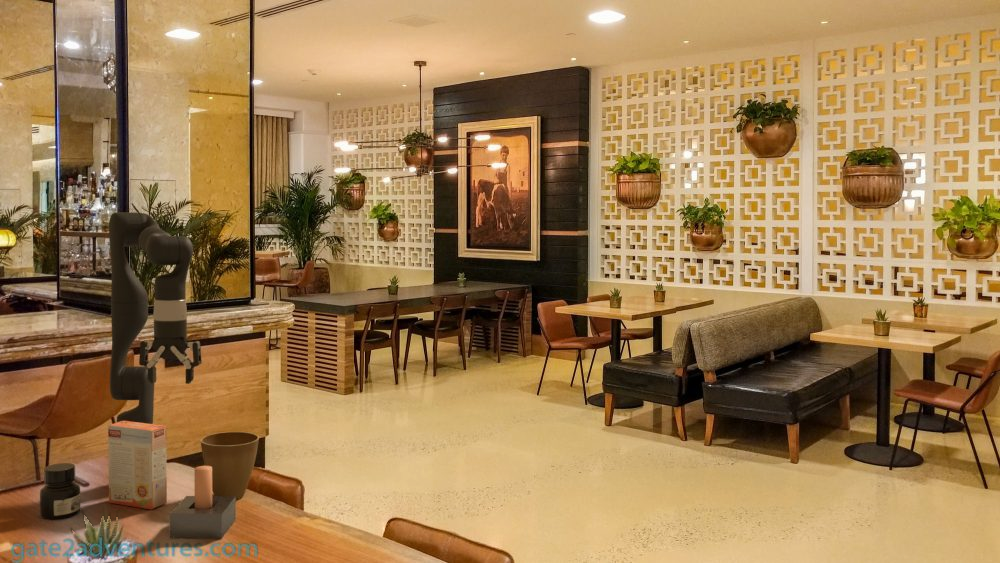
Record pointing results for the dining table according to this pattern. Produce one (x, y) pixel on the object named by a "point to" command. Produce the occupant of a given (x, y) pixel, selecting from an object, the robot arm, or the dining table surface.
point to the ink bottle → (59, 492)
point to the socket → (203, 518)
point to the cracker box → (137, 464)
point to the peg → (203, 487)
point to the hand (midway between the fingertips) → (170, 383)
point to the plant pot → (230, 461)
